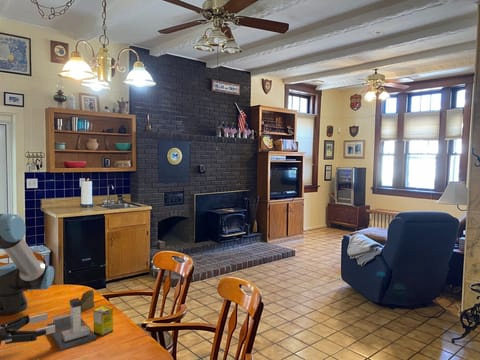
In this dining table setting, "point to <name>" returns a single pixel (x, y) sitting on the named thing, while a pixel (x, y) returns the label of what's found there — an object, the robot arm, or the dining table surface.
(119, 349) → the dining table surface
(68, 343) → the base
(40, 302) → the dining table surface
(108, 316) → the supplement box
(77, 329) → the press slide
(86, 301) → the rock
